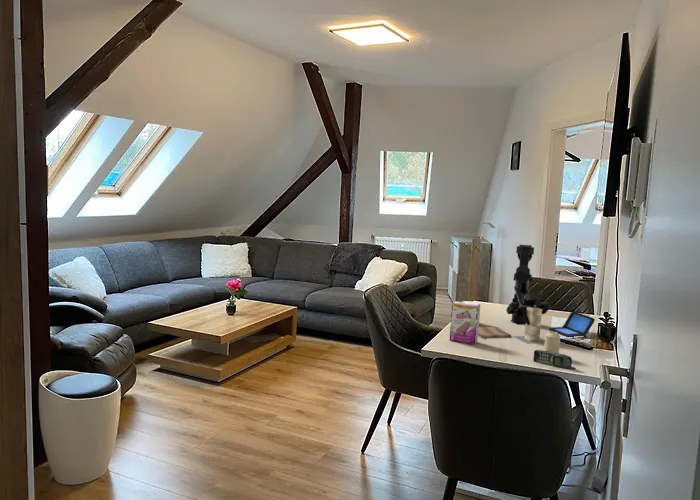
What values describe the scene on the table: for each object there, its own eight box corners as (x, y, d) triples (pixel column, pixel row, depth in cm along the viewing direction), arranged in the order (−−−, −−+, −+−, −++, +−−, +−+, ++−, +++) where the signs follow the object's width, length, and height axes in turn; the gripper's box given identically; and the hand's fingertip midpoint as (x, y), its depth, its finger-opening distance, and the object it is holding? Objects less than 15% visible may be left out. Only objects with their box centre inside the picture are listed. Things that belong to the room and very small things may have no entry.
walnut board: (495, 329, 251) (495, 327, 250) (511, 337, 237) (511, 334, 237) (468, 330, 247) (468, 327, 247) (482, 338, 234) (482, 335, 234)
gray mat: (536, 336, 242) (536, 335, 242) (552, 343, 230) (552, 343, 230) (512, 336, 239) (512, 336, 239) (527, 344, 227) (527, 343, 227)
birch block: (533, 338, 237) (536, 307, 236) (539, 340, 233) (541, 309, 231) (524, 338, 236) (526, 307, 235) (530, 341, 232) (532, 309, 230)
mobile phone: (533, 350, 202) (574, 357, 193) (535, 348, 205) (577, 355, 196) (532, 362, 203) (574, 370, 194) (535, 361, 205) (576, 369, 196)
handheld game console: (547, 330, 255) (549, 311, 254) (570, 329, 258) (572, 310, 257) (569, 339, 240) (571, 319, 239) (594, 338, 243) (596, 318, 242)
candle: (541, 354, 213) (543, 329, 212) (554, 354, 213) (556, 330, 212) (547, 358, 207) (549, 333, 206) (561, 358, 208) (563, 333, 207)
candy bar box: (449, 340, 227) (451, 302, 226) (452, 338, 232) (454, 301, 230) (475, 344, 223) (478, 306, 221) (477, 342, 227) (480, 304, 225)
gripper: (511, 284, 235) (522, 314, 225) (550, 285, 238) (562, 314, 229) (501, 298, 243) (511, 328, 233) (539, 298, 247) (550, 328, 237)
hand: (534, 324), depth 233 cm, fingers closed on birch block, 5 cm apart
